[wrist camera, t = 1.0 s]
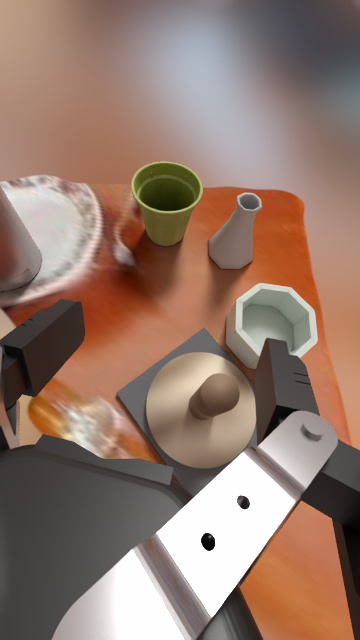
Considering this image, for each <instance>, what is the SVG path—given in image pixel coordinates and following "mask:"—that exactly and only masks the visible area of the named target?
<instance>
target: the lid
mask: <svg viewBox="0 0 360 640" xmlns="http://www.w3.org/2000/svg"><path fill="white" fill-rule="evenodd" d="M146 414H147V420H148V424H149V428H150V430H151V433H152V435H153V437H154V439H155V440H156V442H157V444H158V445H159V446H160V447H161V449H162V450H163V451H164V452H165V453H166V454H167V455H168V456H170V457H171V458H173V459H174V460H175V461H177V462H179V463H181V464H183V465H186V466H189V467H194V468H205V469H206V468H214V467H218V466H221V465H223V464H226V463H228V462H229V461H231V460H233V459H234V458H235V457H237V456H238V455H239V454H240V453H241V452H242V451H243V450H244V448H245V447H246V446H247V444H248V443H249V441H250V439H251V437H252V435H253V432H254V428H255V424H256V406H255V397H254V393H253V390H252V388H251V386H250V384H249V382H248V380H247V379H246V377H245V376H244V375H243V373H242V372H241V371H240V370H239V369H238V368H237V367H236V366H235V365H234V364H232V363H231V362H230V361H228V360H226V359H225V358H223V357H220V356H218V355H215V354H211V353H206V352H192V353H187V354H184V355H181V356H178V357H176V358H174V359H173V360H171V361H170V362H168V363H167V364H166V365H165V366H163V367H162V369H161V370H160V371H159V372H158V373H157V375H156V376H155V378H154V380H153V381H152V383H151V386H150V389H149V391H148V396H147V403H146Z"/></svg>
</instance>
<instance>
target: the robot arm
mask: <svg viewBox="0 0 360 640" xmlns="http://www.w3.org/2000/svg"><path fill="white" fill-rule="evenodd" d="M41 262H42V257H41V253H40V250H39V249H38V247H37V245H36V244H35V242H34V240H33V239H32V237H31V236H30V234H29V232H28V230H27V229H26V227H25V225H24V224H23V222H22V221H21V219H20V217H19V216H18V214H17V212H16V211H15V209H14V208H13V206H12V204H11V203H10V201H9V199H8V198H7V196H6V194H5V193H4V191H3V190H2V188H1V186H0V291H9V290H13V289H17V288H19V287H21V286H23V285H25V284H27V283H28V282H29V281H31V280H32V279H33V278H34V277H35V275H36V274H37V273H38V271H39V269H40V267H41ZM84 336H85V327H84V318H83V309H82V304H81V303H80V302H78V301H73V300H68V299H61V300H59V301H58V302H57V303H55V304H54V305H53V306H51V307H48V308H46V309H43V310H41V311H39V312H37V313H35V314H34V315H33V316H31V317H30V318H29V319H28V320H26V321H25V322H23V323H22V324H21V325H19V326H18V327H17V328H15V329H14V330H13V331H11V332H10V333H9V334H7V335H6V336H5V337H3V338H2V339H1V340H0V640H263V638H262V635H261V633H260V631H259V629H258V627H257V625H256V622H255V620H254V618H253V616H252V614H251V611H250V609H249V607H248V605H247V603H246V601H245V598H244V596H243V594H242V592H241V590H240V586H241V585H242V584H243V582H244V581H245V579H246V578H247V577H248V575H249V574H250V572H251V571H252V570H253V568H254V567H255V565H256V564H257V562H258V561H259V560H260V558H261V557H262V555H263V554H264V552H265V551H266V549H267V548H268V546H269V545H270V544H271V542H272V541H273V539H274V538H275V536H276V535H277V534H278V532H279V531H280V529H281V528H282V527H283V525H284V524H285V522H286V521H287V520H288V518H289V517H290V515H291V514H292V513H293V511H294V510H295V508H296V507H297V506H298V504H299V503H300V501H301V500H302V501H303V502H305V503H307V504H309V505H310V506H312V507H314V508H315V509H317V510H319V511H320V512H322V513H324V514H325V515H327V516H329V517H330V518H332V521H333V527H334V532H335V537H336V543H337V548H338V554H339V559H340V564H341V570H342V575H343V580H344V586H345V591H346V597H347V602H348V607H349V613H350V618H351V623H352V629H353V634H354V639H355V640H360V450H358V449H356V448H354V447H352V446H349V445H347V444H346V443H344V442H342V441H341V440H339V439H338V438H337V434H336V432H335V430H334V429H333V427H332V426H331V425H330V424H329V423H328V422H327V421H326V420H324V419H323V418H322V417H320V414H319V410H318V407H317V403H316V400H315V397H314V393H313V390H312V386H311V383H310V379H309V377H308V372H307V369H306V366H305V364H304V363H303V362H302V361H301V360H300V358H299V357H298V356H295V355H290V354H289V351H288V347H287V342H286V341H283V340H278V339H272V338H266V339H265V342H264V345H263V348H262V351H261V354H260V357H259V360H258V364H257V367H256V371H255V379H254V383H255V406H256V430H257V447H256V448H255V449H254V448H253V447H249V448H247V449H246V450H244V451H243V452H242V453H241V454H240V455H239V456H238V457H237V458H236V459H235V460H234V461H233V462H232V463H231V464H230V465H228V466H227V467H226V468H225V469H224V470H223V471H222V472H221V473H220V474H219V475H218V476H217V477H216V478H215V479H214V480H213V481H212V482H210V483H209V484H208V485H207V486H206V487H205V488H204V489H203V490H202V491H201V492H200V493H199V494H198V495H197V496H196V497H194V496H193V495H192V494H191V493H190V492H189V491H188V490H187V489H186V488H185V487H184V486H183V485H181V484H180V483H179V482H177V481H175V480H174V479H172V475H173V468H174V467H170V466H166V465H162V464H158V463H154V462H150V461H146V460H143V459H103V458H100V457H98V456H96V455H95V454H93V453H91V452H90V451H88V450H86V449H85V448H83V447H81V446H80V445H78V444H76V443H75V442H72V441H68V440H64V439H61V438H57V437H53V436H49V435H45V434H43V435H42V436H41V438H40V439H39V440H38V442H37V443H36V444H35V445H25V446H20V444H19V419H20V415H19V414H20V405H19V401H18V399H19V398H20V397H21V395H22V394H24V395H28V396H32V397H36V396H37V395H38V393H39V392H40V391H41V390H42V389H43V388H44V387H45V385H46V384H47V383H48V382H49V381H50V380H51V378H52V377H53V376H54V375H55V374H56V373H57V372H58V370H59V369H60V368H61V367H62V366H63V365H64V364H65V362H66V361H67V360H68V359H69V358H70V357H71V356H72V354H73V353H74V352H75V351H76V350H77V349H78V347H79V346H80V345H81V344H82V342H83V340H84Z"/></svg>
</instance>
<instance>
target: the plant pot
mask: <svg viewBox="0 0 360 640" xmlns="http://www.w3.org/2000/svg"><path fill="white" fill-rule="evenodd" d="M131 189H132V193H133V196H134V198H135V199H136V201H137V202H138V204H139V206H140V208H141V212H142V216H143V220H144V224H145V229H146V232H147V235H148V237H149V238H150V239H151V240H152V241H153V242H154V243H156V244H158V245H161V246H171V245H174V244H176V243H177V242H179V241H180V240H182V238H183V237H184V234H185V231H186V227H187V224H188V221H189V218H190V216H191V213H192V210H193V209H194V207H195V206H196V205H197V204H198V202H199V201H200V199H201V196H202V191H203V188H202V183H201V181H200V179H199V177H198V176H197V175H196V174H195V173H194V172H193V171H192V170H191V169H189V168H187V167H185V166H183V165H181V164H178V163H174V162H165V161H163V162H155V163H151V164H148V165H146V166H144V167H142V168H141V169H139V170H138V171H137V172H136V173H135V175H134V177H133V179H132V183H131Z"/></svg>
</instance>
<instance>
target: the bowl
mask: <svg viewBox="0 0 360 640" xmlns="http://www.w3.org/2000/svg"><path fill="white" fill-rule="evenodd" d="M266 338H272V339H278V340H283V341H286V342H287V347H288V351H289V354H290V355H295V356H298V357H299V358H300V357H302V356H303V355H304V354H305V353H306V352H307V351H308V350H309V349H310V348H311V347H312V346H313V345H315V344H316V343H317V341H318V338H317V328H316V319H315V311H314V309H313V308H312V307H310V306H309V305H308V304H307V303H306V302H305V301H304V300H303V299H302V298H301V297H300V296H299V295H298V294H297V293H296V292H295V291H294V290H293V289H292V288H290V287H285V286H278V285H271V284H263V283H258V284H257V285H256V286H254V287H253V288H252V289H250V290H249V291H248V292H246V293H245V294H243V295H242V296H241V297H239V298H238V299H237V300H236V302H235V303H234V305H233V307H232V308H231V310H230V312H229V314H228V315H227V321H226V345H227V346H228V347H229V348H230V350H231V351H232V352H233V353H234V354H235V355H236V356H237V358H238V359H239V360H240V361H241V362H242V363H243V364H244V366H245V367H247V368H251V369H256V367H257V364H258V360H259V357H260V354H261V351H262V348H263V345H264V342H265V339H266Z"/></svg>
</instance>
